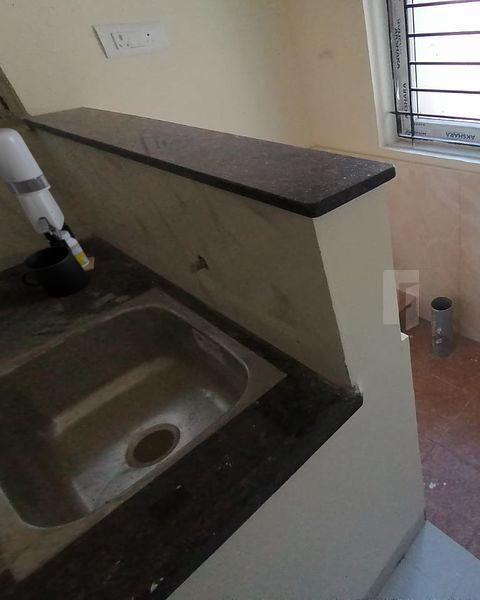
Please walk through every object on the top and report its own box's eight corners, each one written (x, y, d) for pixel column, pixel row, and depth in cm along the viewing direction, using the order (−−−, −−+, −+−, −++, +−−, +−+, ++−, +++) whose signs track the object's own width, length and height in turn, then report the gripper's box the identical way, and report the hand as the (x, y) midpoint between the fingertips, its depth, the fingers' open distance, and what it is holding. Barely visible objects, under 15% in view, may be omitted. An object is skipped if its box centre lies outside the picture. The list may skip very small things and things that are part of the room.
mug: (33, 285, 99) (9, 257, 93) (87, 268, 104) (68, 241, 98) (35, 307, 94) (9, 278, 87) (92, 288, 99) (71, 260, 92)
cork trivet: (63, 277, 104) (61, 275, 103) (65, 265, 108) (64, 263, 108) (93, 269, 106) (92, 267, 106) (94, 258, 111) (93, 256, 111)
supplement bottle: (62, 268, 106) (41, 237, 100) (81, 258, 110) (62, 228, 104) (74, 272, 104) (54, 240, 98) (94, 262, 108) (75, 231, 102)
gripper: (15, 177, 98) (53, 237, 108) (1, 200, 86) (46, 265, 96) (51, 171, 101) (85, 230, 111) (42, 192, 89) (81, 256, 99)
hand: (67, 246), depth 104 cm, fingers open, 9 cm apart
